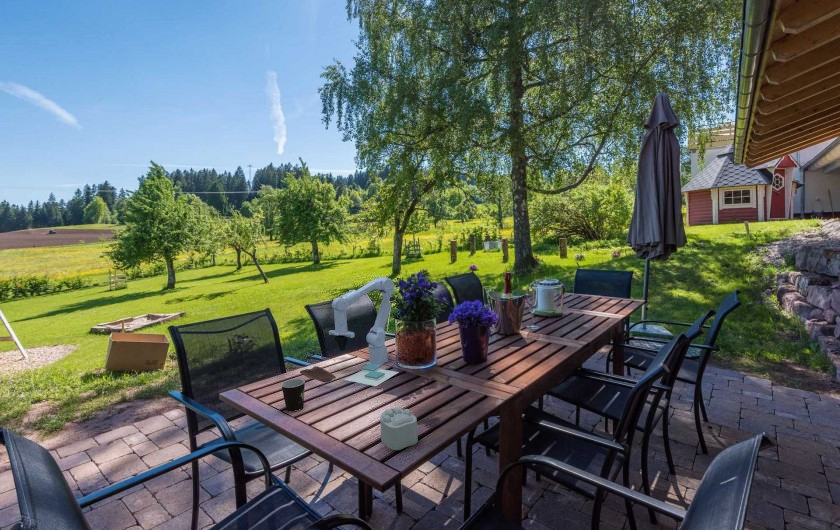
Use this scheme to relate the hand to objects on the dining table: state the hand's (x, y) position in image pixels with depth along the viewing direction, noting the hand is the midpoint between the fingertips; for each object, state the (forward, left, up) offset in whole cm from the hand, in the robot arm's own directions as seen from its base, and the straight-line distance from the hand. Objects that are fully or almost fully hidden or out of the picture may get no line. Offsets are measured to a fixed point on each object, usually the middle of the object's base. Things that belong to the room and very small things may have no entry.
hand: (342, 350), depth 187 cm
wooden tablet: (+9, -6, -11) cm, 16 cm away
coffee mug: (+37, +9, -11) cm, 40 cm away
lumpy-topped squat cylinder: (+39, +57, -11) cm, 70 cm away
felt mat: (0, +17, -10) cm, 20 cm away
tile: (+1, +16, -9) cm, 18 cm away
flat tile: (-6, +12, -10) cm, 17 cm away
